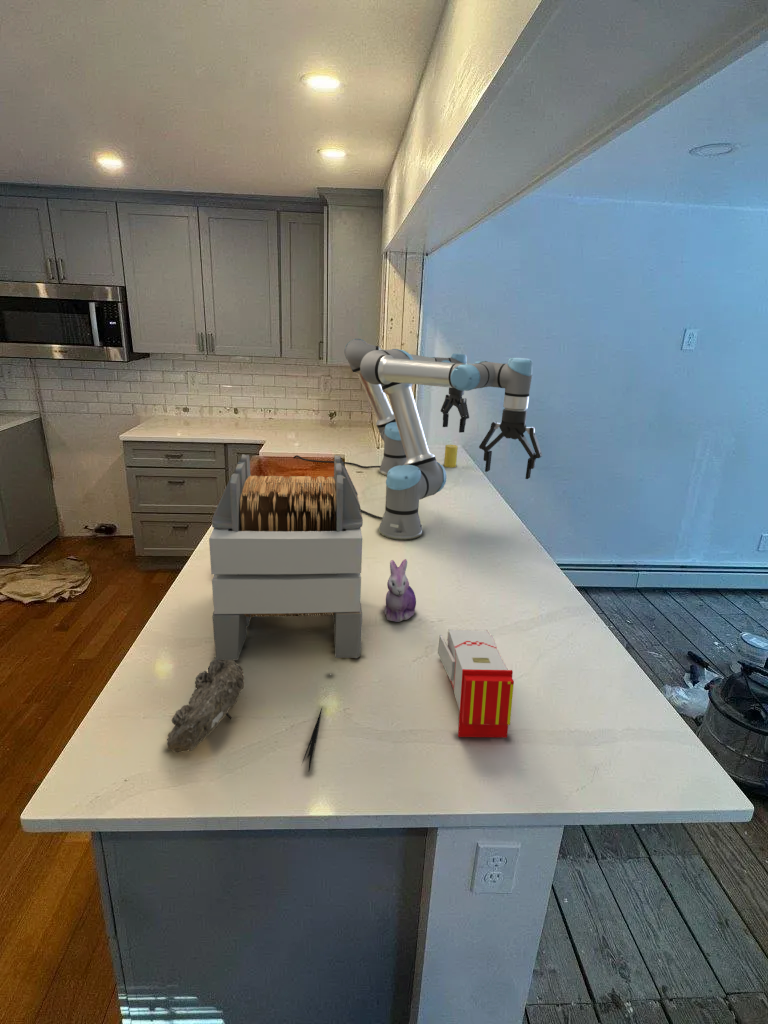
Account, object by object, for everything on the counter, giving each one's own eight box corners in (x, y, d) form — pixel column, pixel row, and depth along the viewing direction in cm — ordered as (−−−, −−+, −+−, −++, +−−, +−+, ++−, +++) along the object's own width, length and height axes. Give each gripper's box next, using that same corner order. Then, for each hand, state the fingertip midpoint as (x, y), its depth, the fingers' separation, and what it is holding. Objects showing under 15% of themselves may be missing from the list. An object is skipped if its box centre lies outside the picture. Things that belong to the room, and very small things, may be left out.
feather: (331, 679, 122) (336, 673, 122) (307, 777, 96) (313, 769, 95) (324, 675, 122) (329, 669, 121) (298, 772, 95) (304, 764, 95)
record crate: (234, 590, 156) (226, 444, 142) (353, 588, 159) (357, 447, 146) (212, 662, 124) (200, 485, 110) (361, 659, 128) (367, 486, 114)
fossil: (192, 660, 117) (244, 628, 112) (224, 691, 120) (276, 661, 115) (142, 746, 98) (202, 712, 93) (182, 779, 101) (242, 748, 96)
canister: (442, 466, 289) (443, 446, 285) (445, 463, 294) (447, 443, 290) (454, 468, 286) (455, 447, 283) (457, 465, 292) (459, 445, 288)
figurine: (392, 627, 141) (395, 572, 136) (374, 608, 149) (376, 556, 144) (425, 619, 145) (429, 566, 140) (405, 601, 154) (408, 550, 149)
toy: (488, 613, 130) (523, 677, 101) (484, 667, 133) (517, 744, 104) (435, 612, 130) (455, 676, 101) (432, 666, 133) (451, 743, 103)
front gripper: (558, 412, 175) (548, 478, 182) (481, 403, 186) (475, 465, 194) (552, 415, 169) (542, 483, 176) (473, 405, 180) (467, 470, 187)
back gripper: (479, 389, 268) (474, 434, 275) (447, 383, 288) (444, 424, 296) (466, 390, 265) (462, 435, 272) (435, 383, 285) (432, 425, 292)
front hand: (507, 474), depth 185 cm, fingers open, 13 cm apart
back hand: (453, 429), depth 284 cm, fingers open, 13 cm apart
